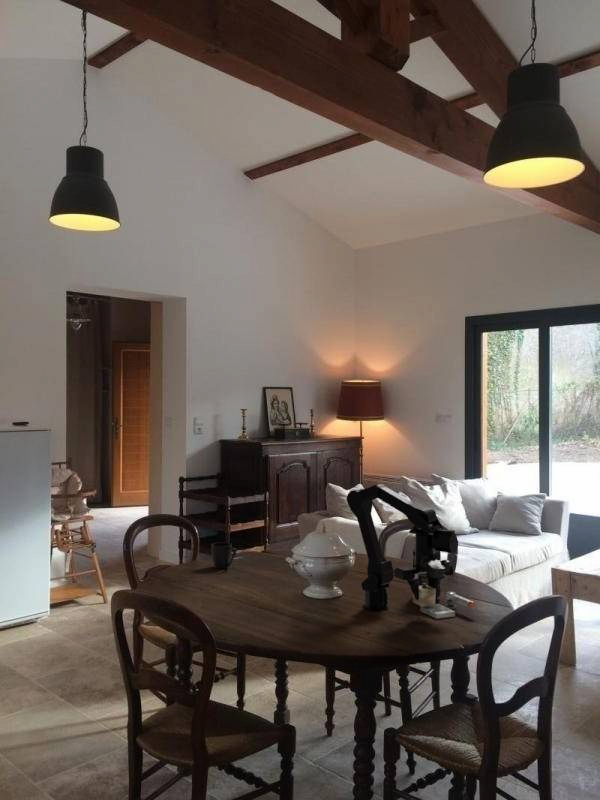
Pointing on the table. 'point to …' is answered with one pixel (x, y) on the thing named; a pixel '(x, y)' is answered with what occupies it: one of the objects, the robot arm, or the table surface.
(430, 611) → the plate
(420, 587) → the block
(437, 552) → the canister
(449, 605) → the grey metal flanged disc
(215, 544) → the mug
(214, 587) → the table surface
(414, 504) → the robot arm
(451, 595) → the lever
